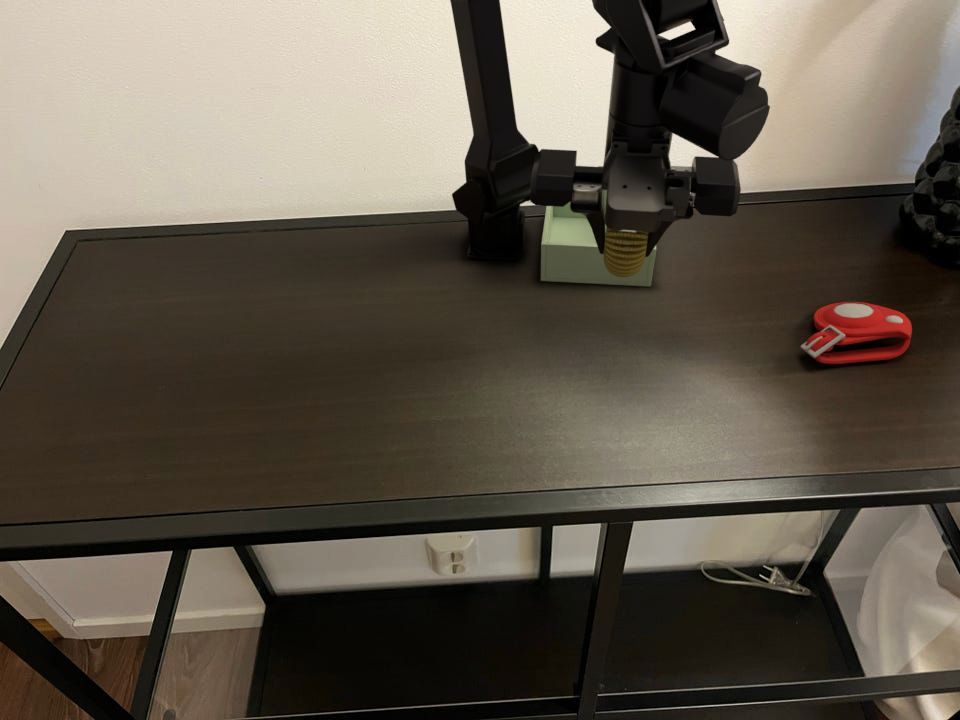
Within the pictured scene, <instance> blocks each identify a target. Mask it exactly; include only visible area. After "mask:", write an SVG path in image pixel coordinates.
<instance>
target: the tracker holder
mask: <svg viewBox="0 0 960 720" xmlns="http://www.w3.org/2000/svg"><path fill="white" fill-rule="evenodd" d="M813 325H814V326H815V328H816V330H818V331H817V332H816V333H814V334H812V335H811V336H810V337H809V338H807V341H805V342H804V343H802V344H801V345H800V348H801V350H803V351H804V352H806V353H807V355H809V356H810V357H811V358H812V359H814V360H815V361H817V362H818V363H820V364H826V365H841V364H842V365H843V364H854V363H864V362H876V361H888V360H892V359H895V358H898V357H900V356H902V355H903V354H904V353H906V351H907V350H908V348H909V346H910V344H911V340H912V333H913V326H912V322H911V320H910V319H909V318H908V316H907V315H905V314H904V313H902V312H900V311H898V310H895V309H892V308H888V307H884V306H881V305H878V304H873V303H869V302H863V301H843V302H835V303H831V304H827V305H824V306H822V307H820V308H819V309H817V310H816V311H815V313H814V315H813ZM887 338H902V340H900V342H898V343H897V344H894V345H890V346H889V345H888V346H882V347H872V348H862V349H853V350H845V351H833V352H830V351H832V350H833V349H834V345H835V346H846V345H854V344H859V343H865V342H870V341H876V340H882V339H887Z"/></svg>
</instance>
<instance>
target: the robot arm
mask: <svg viewBox="0 0 960 720" xmlns="http://www.w3.org/2000/svg"><path fill="white" fill-rule="evenodd" d="M449 1H450V6H451V12H452V17H453V18H452V19H453V24H454V29H455V34H456V35H455V36H456V40H457V47H458V52H459V58H460V63H461V69H462V74H463V80H464V86H465V93H466V97H467V99H466V100H467V105H468V110H469V116H470V121H471V122H470V123H471V127H472V138H471V141H470V144H469V147H468V149H467V152H466V155H465V158H464V171H465V172H464V173H465V183H464V184H462V185H460V187H458V188H457V189H456V190H455V191H454V192H452V193H451V198H452V200H453V204H454V208H455V211H456V212H458V213H460V214H461V215H463V217H465V218H466V219H467V226H468V229H467V230H468V241H469V244H468V250H467V253H466V254H467V259H468V260H481V261H482V260H483V261H504V262H517V261H518V260H519V257H520V251H521V250H522V249H523V248H524V246H525V240H526V211H525V210H524V209H521V205H522V204H524V203H526V202H529V201H530V203H531V204H533V205H534V206H539V207H540V206H541V207H546V206H557V207H564V206H565V205H566V204H568V203H569V202H570V201H571V203H570V209H571V211H572V212H574V213H581V214H583V215H584V216H585V217H586V218H587V220H588V222H589V224H590V226H591V228H592V231H593V234H594V237H595V240H596V243H597V246H598V249H599V253H600V254H604V248H605V247H604V246H605V235H606V230H605V224H606V226H607V227H608V228H609V229H611V230H615V231H621V230H636V231H643V232H647V233H648V239H647V248H646V254H645V257H648V256H649V255H650V253H651V252H652V250H653V249H654V247H655V246H656V247H657V245H658V243H659V241H660V240H661V238H662V237H663V235H664V234H665V233H666V231H667V230H668V229H669V228H670V226H671V225H672V224H673V223H675V222H676V221H680V220H690V219H691V218H692V217H693V216H694V209H695V210H696V212H698V213H699V215H701V216H716V217H732V216H734V215H736V214H737V211H738V208H739V204H740V199H741V192H742V191H741V190H742V189H741V180H740V175H739V174H740V173H739V167H738V164H737V162H736V161H735V160H736V159H739V158H740V157H741V156H742V155H743V154H745V153H746V152H747V151H748V150H749V149H750V148H751V147H752V145H753V144H754V143H755V141H756V140H757V139H758V138H759V136H760V134H761V132H762V130H763V128H764V127H765V124H766V122H767V119H768V116H769V113H770V109H771V106H770V105H769V95H768V92H767V90H766V89H765V88H764V87H762V86H760V82H761V78H762V75H763V74H762V71H761V69H759V68H756V67H754V66H752V65H749V64H744V63H738V62H736V61H733V60H731V59H728V58H726V57H724V56H721V55H720V54H718V53H716V52H717V51H719V50H721V49H723V48H726V47H727V46H729V44H730V38H729V34H728V32H727V28H726V25H725V22H724V21H725V19H724V17H723V15H722V12H721V10H720V9H721V8H720V6H719V2H718V0H591V2H592V6H593V9H594V10H595V12H596V13H597V14H598V15H599V16H600V17H601V18H602V19H603V21H605V23H607V25H608V26H609V29H607V30H606V31H604V32H603V33H602V34H600V35H599V36H597V37H596V38H595V46H597V47H599V48H601V49H602V50H605V51H607V52H609V53H611V54H613V55H614V56H613V64H612V73H611V84H610V93H609V94H610V95H609V105H608V116H607V125H606V126H607V127H606V136H605V147H604V157H603V165H602V166H601V165H599V166H588V165H587V166H586V165H577V157H578V150H572V149H549V148H541V149H540V150H539V148H538V147H537V145H536V144H535V143H530V142H529V141H528V139H526V138H525V137H524V135H523V134H522V133H521V132H520V131H519V129H518V125H517V118H516V111H515V104H514V103H515V102H514V95H513V87H512V81H511V80H512V79H511V74H510V73H511V72H510V67H509V60H508V58H509V57H508V52H507V45H506V36H505V31H504V30H505V29H504V22H503V16H502V7H501V1H500V0H449ZM687 23H691V25H692V26H693V28H694V29H693V30H689V31H687V32H685V33H683V34H680V35H678V36H675V37H673V38H671V39H669V38H666V37H664V36H662V34H664V33H666V32H668V31H671V30H673V29H675V28H678V27H680V26H683V25H685V24H687ZM673 134H674V135H676V136H678V137H679V138H681V139H683V140H685V141H687V142H689V143H690V144H693V145H695V146H696V147H698V148H700V149H702V150H703V151H706V152H708V153H710V154H712V155H714V156H699V155H698V156H697V155H696V156H694V157H693V159H692V163H691V166H684V165H683V166H681V165H671V164H672V163H671V160H670V153H671V147H672V140H673ZM604 190H607V196H606V209H605V204H604Z"/></svg>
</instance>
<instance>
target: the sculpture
mask: <svg viewBox="0 0 960 720" xmlns="http://www.w3.org/2000/svg"><path fill="white" fill-rule="evenodd" d="M632 231H633V230H632ZM634 231H636V230H634ZM647 239H648V233H647V232H643V231H637V232H629V231H615V230H611V229H609V228H608V227H606V236H605V246H604V247H605V248H604V258H603V259H604V264H605V266H606V269H607V270H608V271H609V272H610V273H611V274H613V275H614V276H617V277H623V278H625V277H630V276H632V275H634V274H636V273H637V272H638V271H639V270H640V269H641V267H642V266H643V263H644V259H645V254H646V248H647ZM625 249H626V250H625ZM623 252H624V253H623ZM626 253H627V254H626ZM628 259H630V260H628Z"/></svg>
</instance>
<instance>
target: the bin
mask: <svg viewBox="0 0 960 720" xmlns="http://www.w3.org/2000/svg"><path fill="white" fill-rule="evenodd" d="M606 196H607V190H604V204H605V209H606ZM570 203H571V201H570V202H569V203H568V204H566V205H565V206H564V207H557V206H545V213H544V221H543V229H542V234H541V235H542V236H541V244H540V282H557V283H572V284H573V283H574V284H575V283H576V284H592V285H593V284H595V285H596V284H597V285H610V286H611V285H612V286H613V285H614V286H632V287H633V286H634V287H649V288H650V287H651V286H652V282H653V274H654V268H655V263H656V261H655V260H656V256H657V255H656V254H657V245H656V246H655V247H654V249H653V250H652V252H651V253H650V255H649V256H648V257H645V259H644V263H643V266H642V267H641V269H640V270H639V271H638V272H637V273H636V274H634V275H632V276H630V277H625V278H623V277H617V276H614V275H613V274H611V273H610V272H609V271H608V270H607V269H606V266H605V264H604V259H603V258H604V254H600V253H599V249H598V246H597V243H596V240H595V237H594V234H593V231H592V228H591V226H590V224H589V222H588V220H587V218H586V217H585V216H584V215H583V214H581V213H574V212H572V211H571V209H570ZM606 227H607V226H606V224H605V230H606ZM621 231H629V232H637V231H634V230H633V231H632V230H621ZM605 236H606V235H605ZM625 250H626V249H625ZM623 253H624V252H623ZM626 254H627V253H626ZM628 260H630V259H628Z"/></svg>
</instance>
